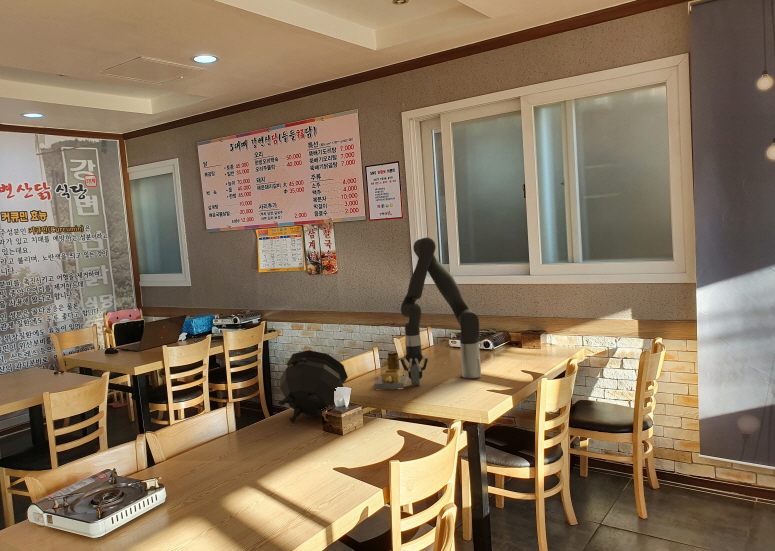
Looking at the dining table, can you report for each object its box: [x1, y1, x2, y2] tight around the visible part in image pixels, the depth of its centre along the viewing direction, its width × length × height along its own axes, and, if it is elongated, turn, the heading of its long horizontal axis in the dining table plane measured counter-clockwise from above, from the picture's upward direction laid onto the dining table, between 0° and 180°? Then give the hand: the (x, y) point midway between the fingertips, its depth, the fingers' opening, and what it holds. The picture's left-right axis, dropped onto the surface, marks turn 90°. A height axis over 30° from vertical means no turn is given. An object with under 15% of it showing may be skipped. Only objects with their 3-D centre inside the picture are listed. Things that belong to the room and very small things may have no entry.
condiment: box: [387, 351, 406, 375], centre depth 305 cm, size 7×8×12 cm
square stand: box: [374, 369, 409, 390], centre depth 286 cm, size 14×14×7 cm
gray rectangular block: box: [410, 365, 422, 386], centre depth 284 cm, size 4×3×10 cm
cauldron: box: [277, 349, 349, 423], centre depth 245 cm, size 28×28×24 cm
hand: (415, 378), depth 284 cm, fingers closed on gray rectangular block, 4 cm apart
